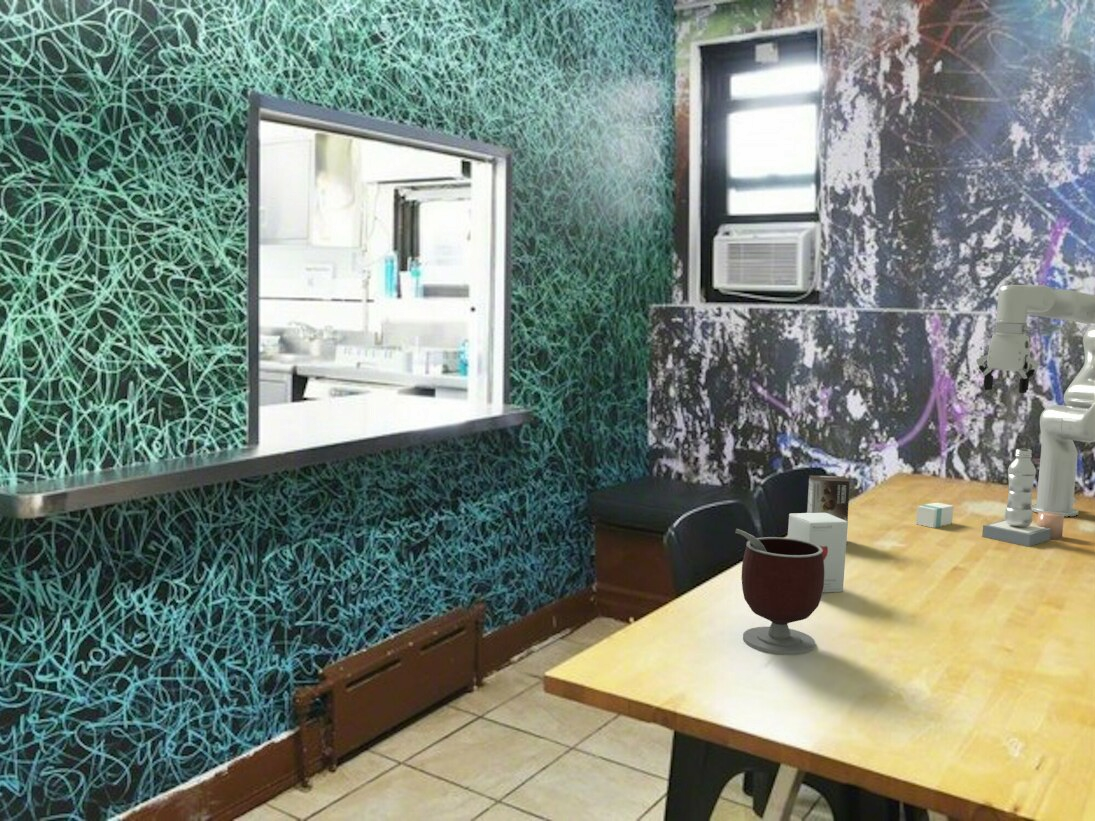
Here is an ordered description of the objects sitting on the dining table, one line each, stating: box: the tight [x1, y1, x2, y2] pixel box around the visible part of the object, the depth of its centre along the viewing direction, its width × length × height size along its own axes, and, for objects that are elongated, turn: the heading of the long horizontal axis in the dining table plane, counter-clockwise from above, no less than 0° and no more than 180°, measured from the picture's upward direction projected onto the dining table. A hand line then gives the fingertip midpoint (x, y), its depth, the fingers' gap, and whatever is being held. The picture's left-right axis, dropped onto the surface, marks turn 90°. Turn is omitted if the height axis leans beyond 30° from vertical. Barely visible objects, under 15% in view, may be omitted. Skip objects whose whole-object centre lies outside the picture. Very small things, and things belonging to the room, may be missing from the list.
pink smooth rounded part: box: [1036, 512, 1065, 540], centre depth 255 cm, size 6×6×6 cm
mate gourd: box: [735, 528, 825, 656], centre depth 168 cm, size 16×14×20 cm
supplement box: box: [787, 512, 849, 594], centre depth 202 cm, size 9×9×15 cm
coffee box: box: [806, 474, 851, 544], centre depth 242 cm, size 9×6×16 cm
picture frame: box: [981, 519, 1051, 547], centre depth 252 cm, size 12×12×3 cm
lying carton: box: [915, 502, 954, 529], centre depth 266 cm, size 10×5×5 cm, turn 129°
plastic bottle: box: [1003, 448, 1037, 527], centre depth 251 cm, size 6×7×20 cm
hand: (1005, 391), depth 271 cm, fingers open, 9 cm apart
